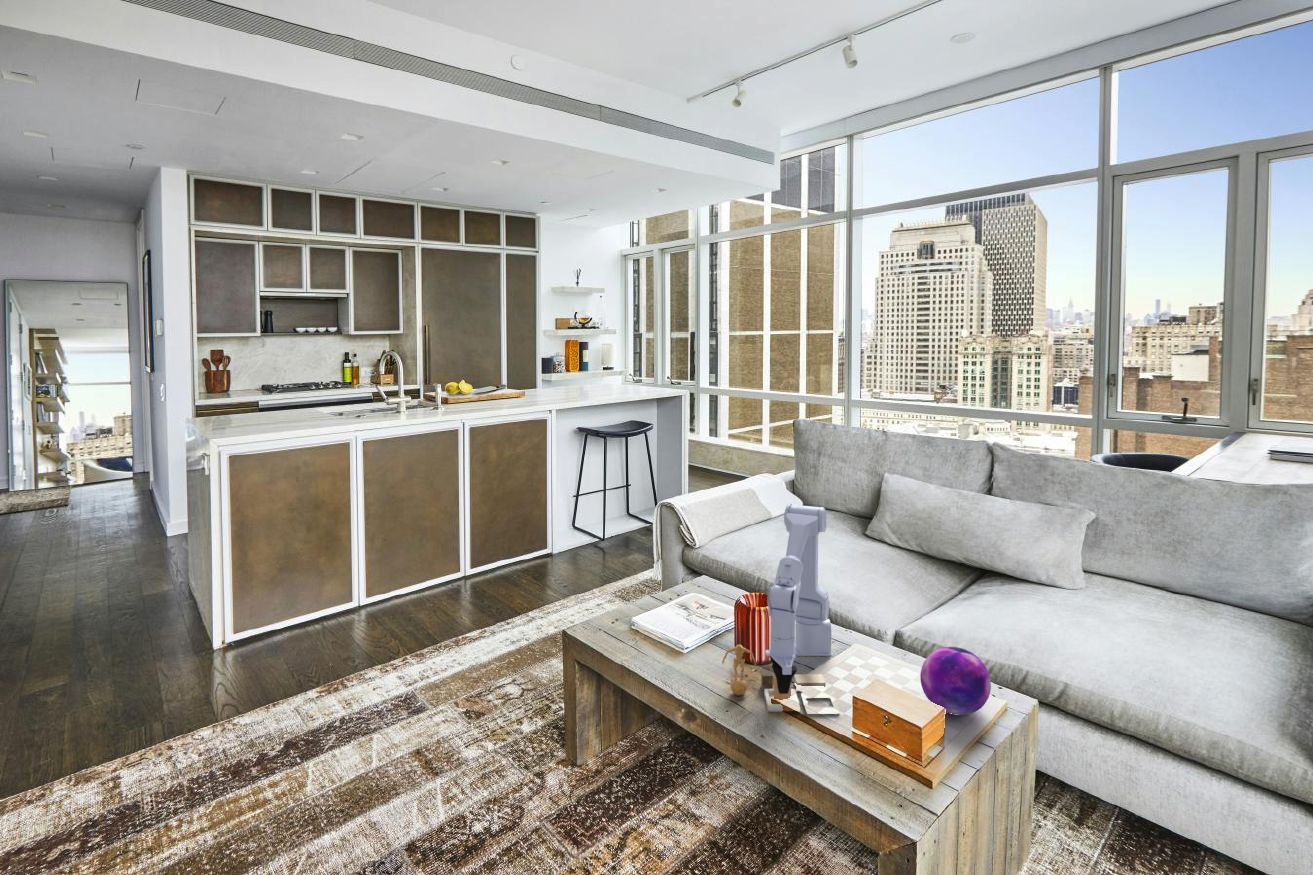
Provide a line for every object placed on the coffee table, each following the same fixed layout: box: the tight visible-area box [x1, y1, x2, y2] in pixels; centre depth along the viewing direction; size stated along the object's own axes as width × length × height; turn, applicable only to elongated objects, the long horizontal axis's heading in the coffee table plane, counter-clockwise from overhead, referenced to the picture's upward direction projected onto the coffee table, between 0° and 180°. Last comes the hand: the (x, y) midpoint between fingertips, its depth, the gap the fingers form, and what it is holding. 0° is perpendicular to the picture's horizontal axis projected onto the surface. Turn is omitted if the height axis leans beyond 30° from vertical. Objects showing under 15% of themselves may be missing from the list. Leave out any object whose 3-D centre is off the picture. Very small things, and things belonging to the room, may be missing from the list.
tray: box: [763, 688, 783, 713], centre depth 168 cm, size 8×8×2 cm
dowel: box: [773, 672, 792, 700], centre depth 168 cm, size 4×4×7 cm
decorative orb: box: [920, 646, 992, 716], centre depth 162 cm, size 15×15×15 cm
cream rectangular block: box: [793, 673, 827, 687], centre depth 174 cm, size 7×4×2 cm, turn 88°
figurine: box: [721, 644, 757, 696], centre depth 172 cm, size 8×6×12 cm
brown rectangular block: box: [760, 670, 774, 692], centre depth 174 cm, size 2×2×4 cm
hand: (781, 687), depth 168 cm, fingers open, 4 cm apart
